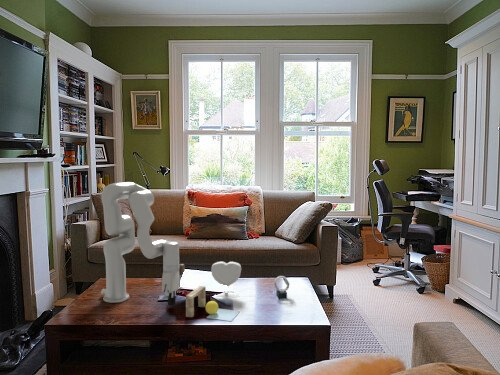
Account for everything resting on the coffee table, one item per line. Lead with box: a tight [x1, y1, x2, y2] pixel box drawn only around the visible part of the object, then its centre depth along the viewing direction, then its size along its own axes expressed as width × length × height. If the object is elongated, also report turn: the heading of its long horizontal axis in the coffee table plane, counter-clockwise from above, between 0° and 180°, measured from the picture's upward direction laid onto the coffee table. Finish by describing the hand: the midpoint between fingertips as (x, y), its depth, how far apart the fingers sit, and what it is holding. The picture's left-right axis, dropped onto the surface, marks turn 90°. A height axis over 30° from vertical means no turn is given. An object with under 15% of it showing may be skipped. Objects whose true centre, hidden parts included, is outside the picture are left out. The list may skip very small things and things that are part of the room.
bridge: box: [185, 285, 207, 318], centre depth 189 cm, size 3×15×10 cm, turn 162°
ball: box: [205, 300, 219, 315], centre depth 186 cm, size 6×6×6 cm
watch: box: [273, 275, 290, 300], centre depth 209 cm, size 6×8×11 cm
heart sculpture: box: [210, 261, 242, 299], centre depth 210 cm, size 16×5×18 cm, turn 88°
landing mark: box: [206, 307, 241, 322], centre depth 185 cm, size 12×12×1 cm
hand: (171, 304), depth 193 cm, fingers closed
